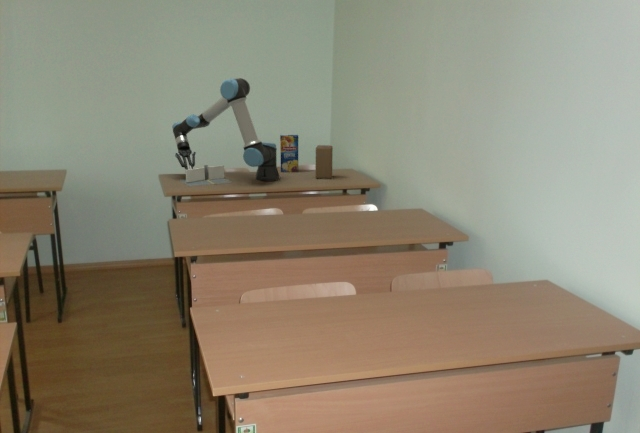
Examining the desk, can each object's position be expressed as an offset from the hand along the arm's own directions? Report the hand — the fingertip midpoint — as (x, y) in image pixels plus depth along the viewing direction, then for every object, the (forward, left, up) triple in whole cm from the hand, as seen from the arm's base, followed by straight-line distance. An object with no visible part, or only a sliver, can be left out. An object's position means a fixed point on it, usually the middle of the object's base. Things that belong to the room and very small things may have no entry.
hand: (191, 175), depth 384 cm
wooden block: (-81, +21, -4) cm, 84 cm away
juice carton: (-70, -8, -4) cm, 71 cm away
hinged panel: (-2, +1, -3) cm, 4 cm away
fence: (-15, -1, -3) cm, 16 cm away
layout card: (-8, +3, -4) cm, 9 cm away
